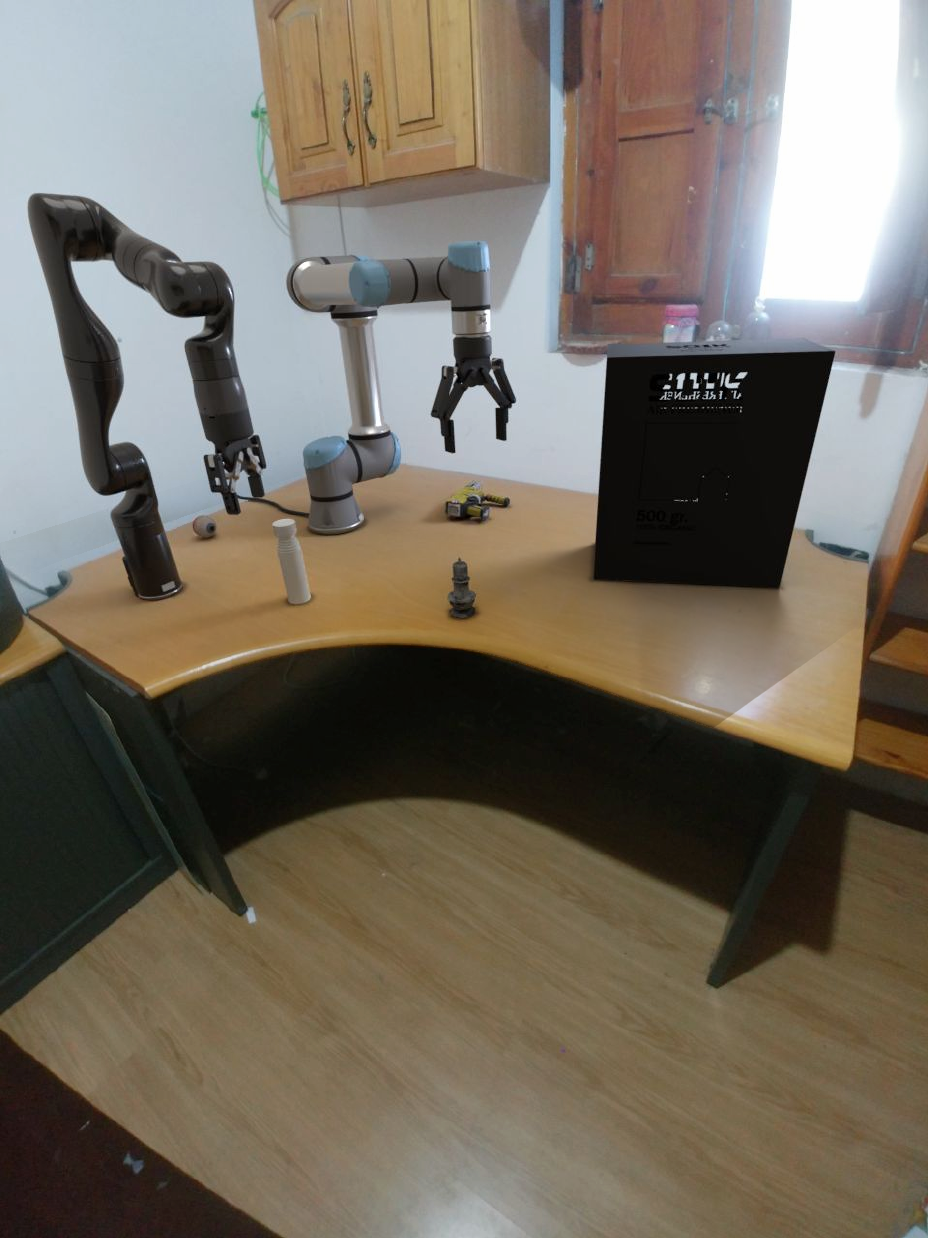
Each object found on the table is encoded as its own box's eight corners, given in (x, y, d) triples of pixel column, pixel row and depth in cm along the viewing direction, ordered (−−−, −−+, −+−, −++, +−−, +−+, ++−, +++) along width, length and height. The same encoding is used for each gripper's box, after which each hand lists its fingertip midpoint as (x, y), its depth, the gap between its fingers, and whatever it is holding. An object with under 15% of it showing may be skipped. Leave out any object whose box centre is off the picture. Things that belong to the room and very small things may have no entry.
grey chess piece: (474, 619, 120) (471, 564, 114) (445, 617, 121) (441, 563, 115) (479, 605, 124) (477, 551, 118) (451, 603, 126) (448, 550, 120)
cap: (296, 527, 126) (294, 517, 125) (297, 535, 122) (295, 524, 121) (274, 531, 125) (272, 520, 124) (274, 538, 121) (272, 528, 120)
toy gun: (518, 485, 181) (471, 478, 185) (495, 509, 161) (443, 500, 165) (516, 500, 184) (470, 493, 188) (494, 525, 164) (442, 517, 168)
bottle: (310, 592, 134) (295, 518, 125) (311, 602, 130) (296, 526, 121) (288, 596, 133) (271, 522, 124) (289, 606, 129) (272, 530, 120)
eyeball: (206, 542, 163) (200, 521, 160) (191, 538, 166) (185, 518, 163) (224, 534, 167) (218, 514, 164) (209, 531, 170) (203, 510, 167)
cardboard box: (759, 548, 141) (803, 338, 119) (779, 587, 124) (835, 350, 102) (595, 543, 149) (607, 344, 126) (593, 579, 132) (607, 357, 109)
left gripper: (225, 399, 102) (247, 491, 111) (175, 417, 90) (204, 519, 98) (266, 398, 101) (285, 492, 109) (221, 416, 89) (246, 520, 97)
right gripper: (429, 342, 108) (437, 460, 118) (533, 329, 120) (532, 437, 131) (407, 340, 113) (417, 454, 124) (508, 328, 125) (510, 432, 136)
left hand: (247, 505), depth 104 cm, fingers open, 8 cm apart
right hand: (476, 445), depth 127 cm, fingers open, 13 cm apart
